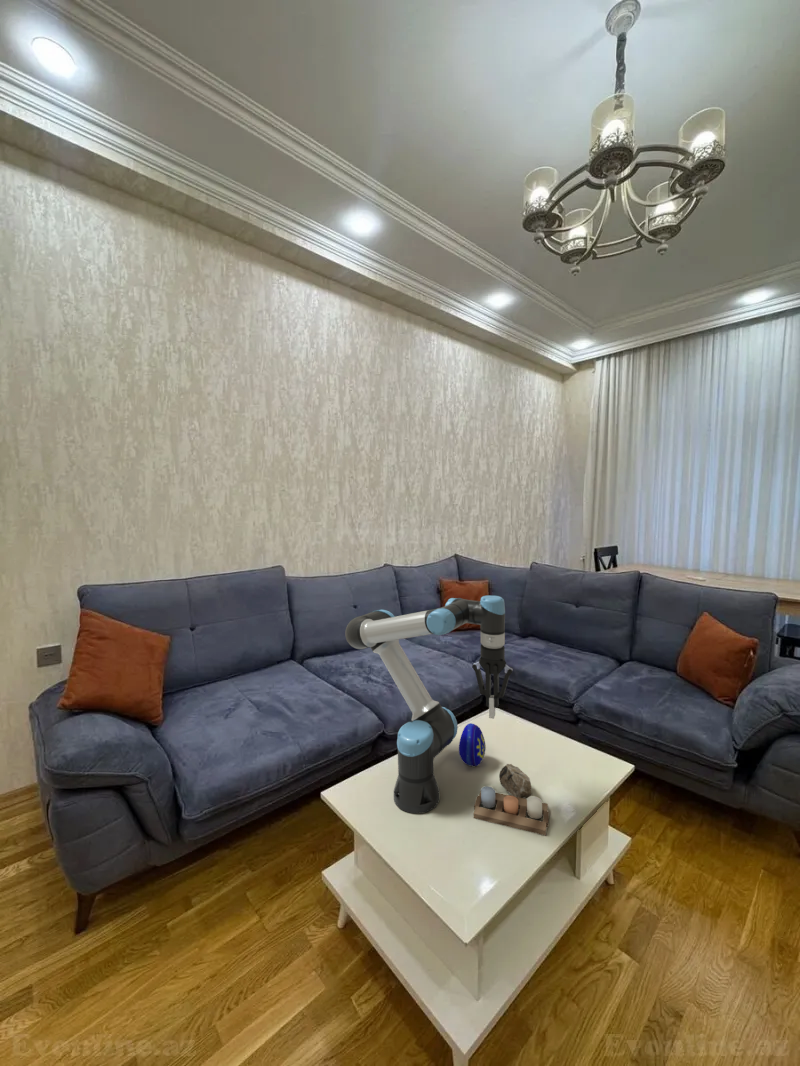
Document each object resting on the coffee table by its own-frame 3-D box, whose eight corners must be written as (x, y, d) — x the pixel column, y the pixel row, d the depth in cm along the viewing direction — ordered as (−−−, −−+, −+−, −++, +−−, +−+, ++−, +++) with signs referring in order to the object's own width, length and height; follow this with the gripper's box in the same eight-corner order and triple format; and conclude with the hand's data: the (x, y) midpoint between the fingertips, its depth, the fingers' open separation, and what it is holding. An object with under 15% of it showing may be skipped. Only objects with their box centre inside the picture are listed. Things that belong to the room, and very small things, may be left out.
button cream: (526, 816, 129) (526, 804, 129) (527, 807, 133) (527, 794, 133) (541, 820, 127) (541, 807, 127) (542, 810, 131) (542, 797, 131)
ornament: (478, 775, 152) (477, 734, 151) (454, 767, 157) (453, 727, 156) (489, 759, 162) (488, 720, 161) (466, 752, 166) (465, 714, 165)
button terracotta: (502, 815, 132) (502, 803, 131) (504, 806, 136) (504, 794, 136) (517, 819, 130) (517, 806, 130) (519, 809, 134) (519, 797, 134)
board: (471, 817, 131) (471, 813, 131) (479, 793, 143) (479, 788, 142) (547, 836, 123) (547, 831, 123) (549, 808, 134) (549, 804, 134)
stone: (523, 804, 136) (523, 782, 136) (494, 785, 146) (495, 764, 146) (537, 796, 141) (538, 775, 140) (509, 778, 150) (509, 758, 150)
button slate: (480, 805, 134) (479, 793, 134) (482, 797, 138) (482, 785, 138) (494, 809, 133) (494, 796, 132) (496, 800, 137) (496, 788, 136)
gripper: (469, 646, 136) (469, 718, 137) (511, 651, 131) (511, 725, 132) (474, 639, 143) (474, 707, 144) (515, 643, 138) (514, 714, 139)
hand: (492, 716), depth 138 cm, fingers closed
